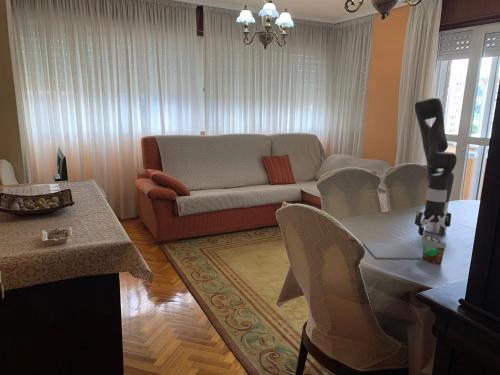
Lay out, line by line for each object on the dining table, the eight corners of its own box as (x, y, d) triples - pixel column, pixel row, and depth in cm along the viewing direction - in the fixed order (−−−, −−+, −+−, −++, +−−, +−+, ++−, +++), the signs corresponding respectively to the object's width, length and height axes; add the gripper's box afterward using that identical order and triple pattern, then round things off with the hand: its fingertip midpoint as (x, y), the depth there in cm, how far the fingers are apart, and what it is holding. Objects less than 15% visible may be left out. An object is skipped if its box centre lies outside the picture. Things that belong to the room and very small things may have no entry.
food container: (414, 254, 167) (416, 233, 165) (427, 254, 168) (430, 233, 165) (429, 266, 155) (432, 243, 153) (443, 265, 156) (446, 243, 153)
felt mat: (404, 244, 178) (404, 243, 178) (420, 259, 162) (421, 257, 162) (363, 243, 178) (363, 242, 178) (375, 258, 161) (375, 257, 161)
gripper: (447, 197, 159) (442, 232, 163) (415, 196, 159) (410, 232, 162) (457, 201, 152) (451, 238, 155) (423, 200, 151) (418, 238, 155)
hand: (430, 235), depth 159 cm, fingers open, 8 cm apart
